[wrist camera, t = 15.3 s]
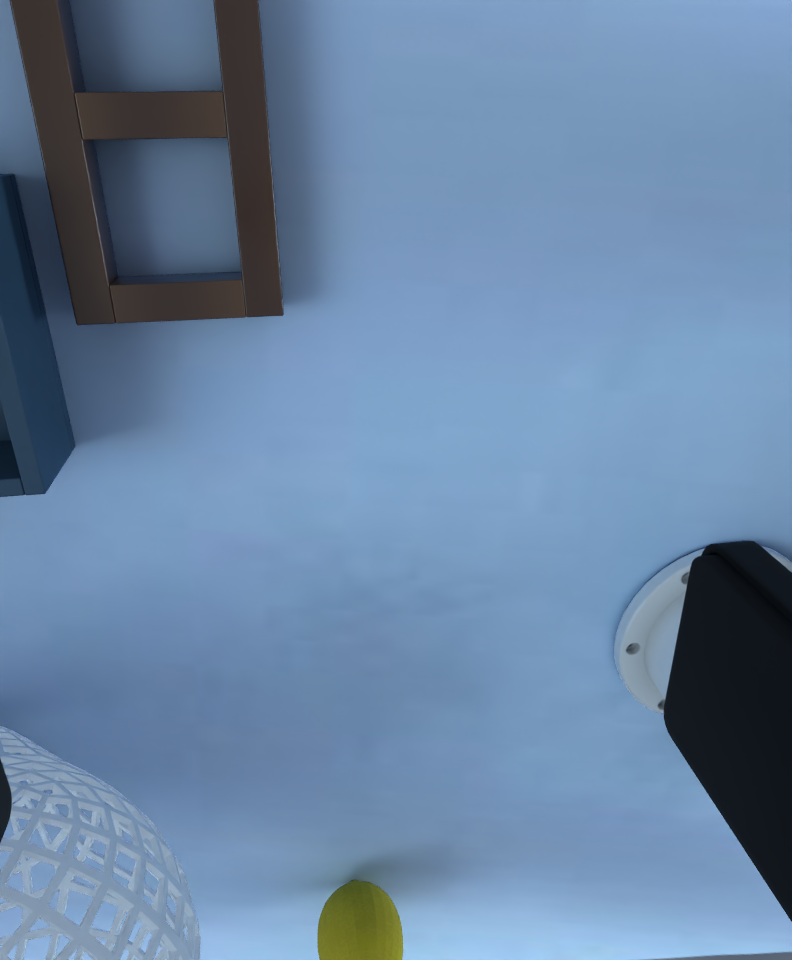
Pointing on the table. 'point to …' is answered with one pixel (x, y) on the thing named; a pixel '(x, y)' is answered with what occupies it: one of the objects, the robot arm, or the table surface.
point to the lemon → (360, 925)
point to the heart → (128, 899)
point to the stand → (152, 115)
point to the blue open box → (26, 365)
